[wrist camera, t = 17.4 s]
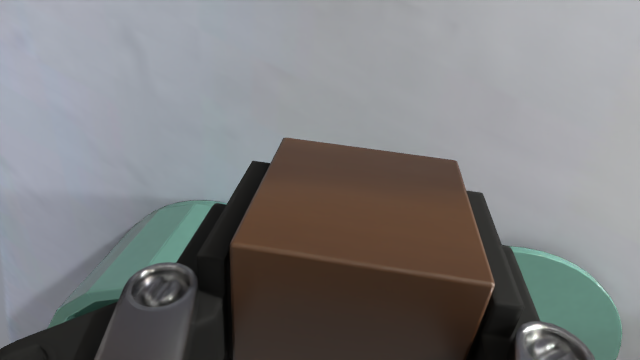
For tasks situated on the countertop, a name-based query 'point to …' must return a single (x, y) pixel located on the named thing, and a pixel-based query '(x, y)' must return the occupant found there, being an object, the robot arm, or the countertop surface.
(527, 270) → the lid
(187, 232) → the bowl
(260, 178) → the robot arm
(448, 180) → the block
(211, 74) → the countertop surface
